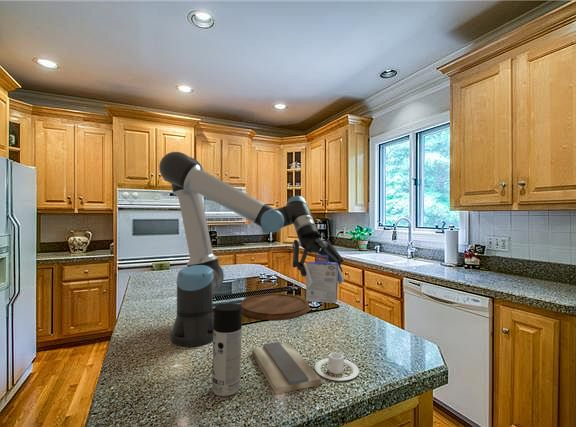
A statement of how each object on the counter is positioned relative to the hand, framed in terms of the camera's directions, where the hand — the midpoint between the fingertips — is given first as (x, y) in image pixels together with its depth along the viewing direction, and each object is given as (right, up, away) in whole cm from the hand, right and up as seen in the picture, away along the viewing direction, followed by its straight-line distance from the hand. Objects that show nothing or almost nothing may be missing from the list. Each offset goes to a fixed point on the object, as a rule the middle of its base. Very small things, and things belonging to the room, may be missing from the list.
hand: (326, 283), depth 96 cm
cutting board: (-18, -21, +41) cm, 50 cm away
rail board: (-13, -21, -12) cm, 27 cm away
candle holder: (+1, -22, -12) cm, 25 cm away
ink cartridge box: (-1, -6, +3) cm, 7 cm away
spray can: (-27, -21, -22) cm, 41 cm away
